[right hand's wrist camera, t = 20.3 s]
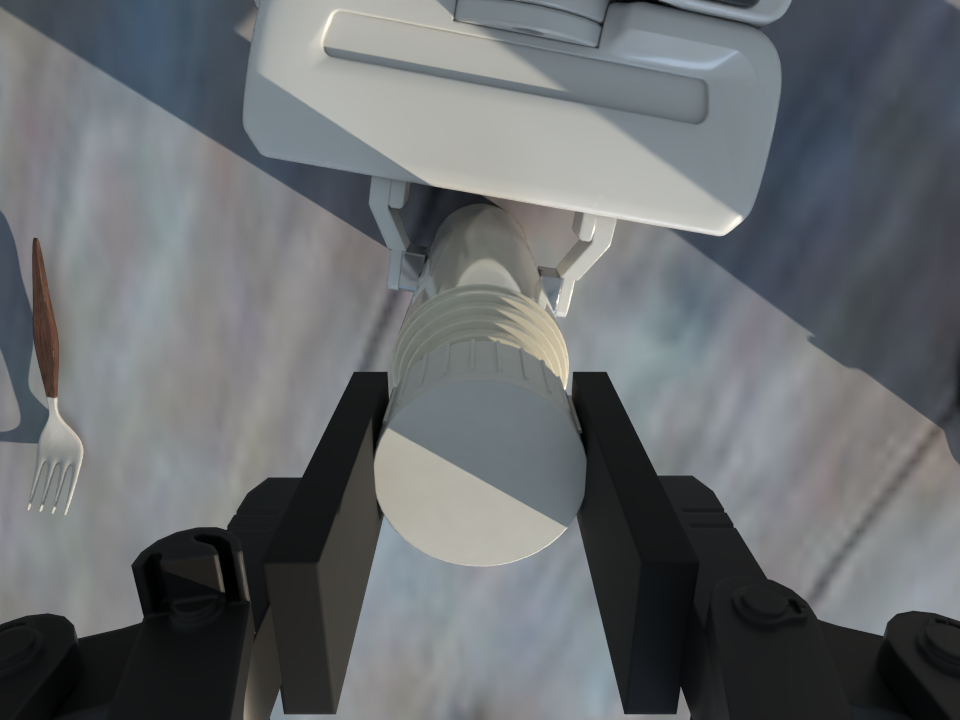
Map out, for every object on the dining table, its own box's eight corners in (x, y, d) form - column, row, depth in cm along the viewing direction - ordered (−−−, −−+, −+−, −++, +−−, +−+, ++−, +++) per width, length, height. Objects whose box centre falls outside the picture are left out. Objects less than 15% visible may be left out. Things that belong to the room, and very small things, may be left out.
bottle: (474, 183, 32) (464, 298, 12) (546, 246, 33) (652, 451, 13) (413, 257, 34) (310, 476, 13) (485, 315, 35) (493, 600, 14)
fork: (67, 240, 33) (43, 247, 31) (88, 496, 39) (68, 516, 37) (16, 232, 33) (-12, 239, 31) (45, 491, 39) (22, 510, 37)
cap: (538, 526, 16) (547, 590, 14) (365, 480, 15) (346, 539, 13) (603, 369, 14) (624, 414, 12) (413, 312, 14) (401, 348, 12)
